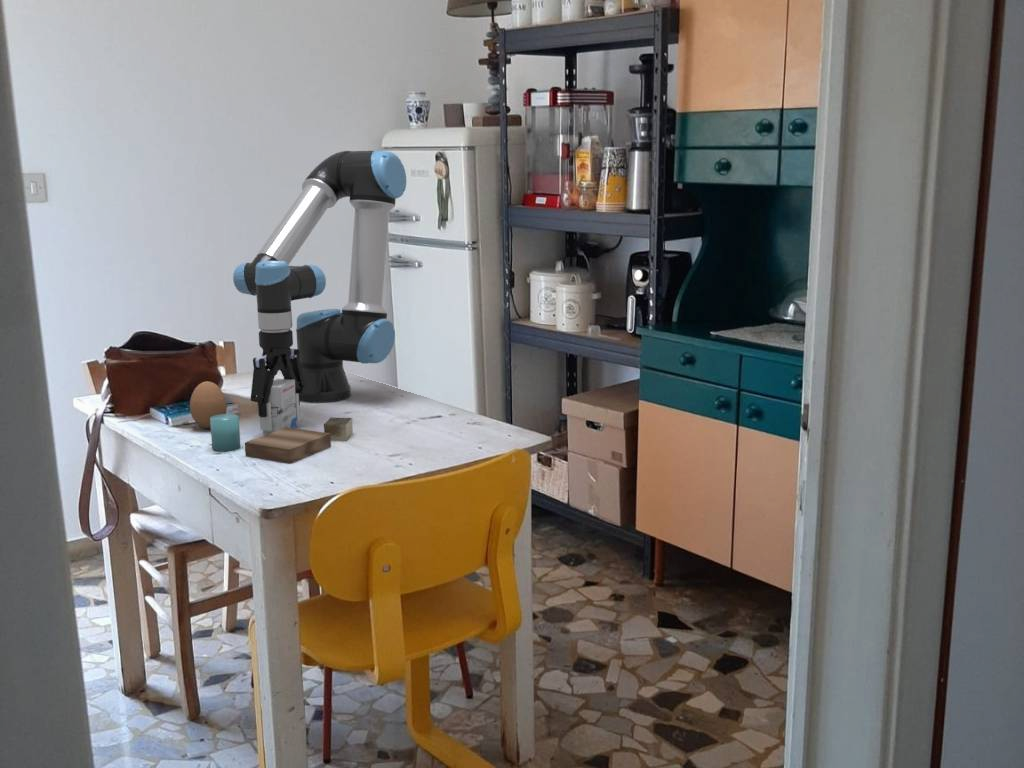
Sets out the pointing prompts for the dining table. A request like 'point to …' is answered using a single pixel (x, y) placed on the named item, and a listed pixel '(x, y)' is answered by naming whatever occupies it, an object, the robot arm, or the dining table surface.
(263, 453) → the stand
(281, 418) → the ink box
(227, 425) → the teal pillar candle
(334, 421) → the brass tin
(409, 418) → the dining table surface
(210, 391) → the egg
